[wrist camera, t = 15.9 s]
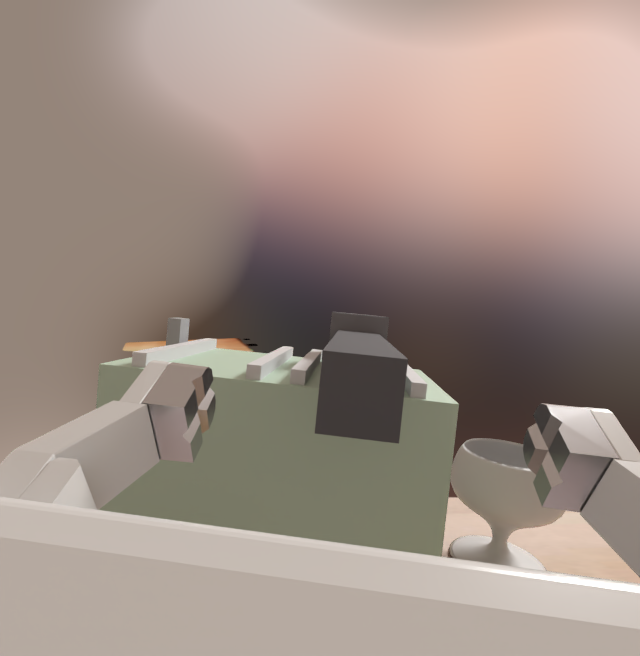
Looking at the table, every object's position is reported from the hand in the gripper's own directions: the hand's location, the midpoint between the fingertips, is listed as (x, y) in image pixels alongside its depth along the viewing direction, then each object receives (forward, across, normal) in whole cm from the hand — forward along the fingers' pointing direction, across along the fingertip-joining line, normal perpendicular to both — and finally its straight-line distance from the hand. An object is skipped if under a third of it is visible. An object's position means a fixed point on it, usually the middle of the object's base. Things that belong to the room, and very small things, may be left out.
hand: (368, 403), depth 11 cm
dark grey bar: (+15, 0, -12) cm, 20 cm away
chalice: (+25, +22, -48) cm, 58 cm away
